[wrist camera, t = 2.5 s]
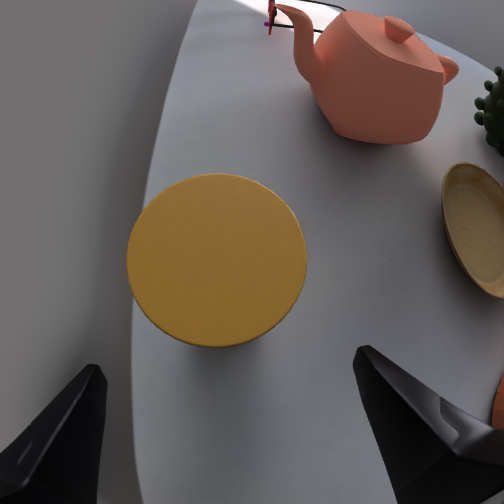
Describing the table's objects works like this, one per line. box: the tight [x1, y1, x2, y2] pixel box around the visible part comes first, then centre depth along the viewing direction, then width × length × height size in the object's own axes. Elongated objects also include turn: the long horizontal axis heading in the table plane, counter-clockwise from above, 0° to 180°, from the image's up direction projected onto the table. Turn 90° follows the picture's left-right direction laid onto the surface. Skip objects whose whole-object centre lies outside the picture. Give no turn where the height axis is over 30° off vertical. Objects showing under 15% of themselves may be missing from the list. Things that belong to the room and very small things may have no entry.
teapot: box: [274, 4, 459, 145], centre depth 21 cm, size 13×20×12 cm, turn 97°
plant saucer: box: [442, 162, 504, 299], centre depth 22 cm, size 15×15×3 cm
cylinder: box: [126, 173, 307, 348], centre depth 14 cm, size 5×5×13 cm
